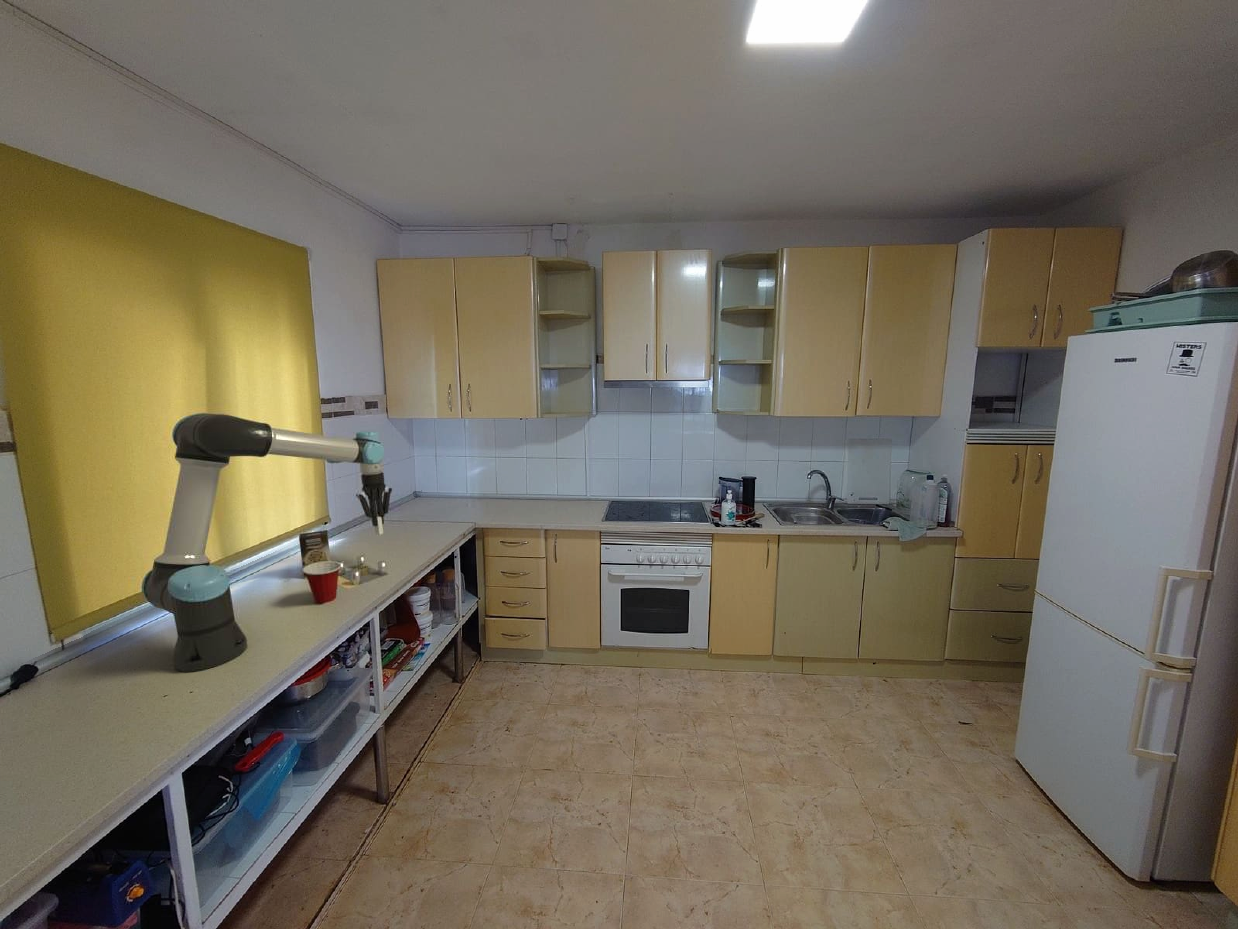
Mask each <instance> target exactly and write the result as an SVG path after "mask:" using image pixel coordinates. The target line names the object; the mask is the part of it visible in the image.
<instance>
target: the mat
mask: <svg viewBox="0 0 1238 929" xmlns="http://www.w3.org/2000/svg"><path fill="white" fill-rule="evenodd" d="M369 568H370V574H369V575H366V576H361V584H359V585H352V578H351V572H352V571H354V570H356V567H355V568H351V569H348V570H345V572H346V574H344V575H341V576H338V584H337V586H339V587H341V588H344V589H347V590H349V589H352V588H355V587H357V586H360V585H364V584H365V583H368V582H371V581H374V580H377V579H380V578H383V577H385V576H388V575H389V573H387V574H386V575H383V576H380V575H379V571H378V569H376V568H373V567H370V566H369Z"/></svg>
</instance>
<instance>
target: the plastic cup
mask: <svg viewBox="0 0 1238 929" xmlns="http://www.w3.org/2000/svg"><path fill="white" fill-rule="evenodd" d="M338 562H339V561H332V560H331V561H323V562H317V563H313V564H310V565H308V566H306V567H304V568H303V567H302V572H303V571H304V573H305V575H306V577H307V579H306V580H307V582H308V584H309V585H308V586H309V588H310V591H311V594H312V595H313V598H314V601H315V604H317V605H324V604H326V603H330V602H332V601H334V600H335V599H336V598H337V594H338V593H337V592H338V591H337V590H338V585H337V584H338V574H339V569H340V567H341V563H338Z"/></svg>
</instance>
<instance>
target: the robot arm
mask: <svg viewBox="0 0 1238 929" xmlns="http://www.w3.org/2000/svg"><path fill="white" fill-rule="evenodd" d="M380 439H381V438H380V433H379V432H378V431H376V430H363V431H358V432H356V434H355V438H345V437H344V438H343V437H338V436H337V437H336V436H330V435H323V434H316V433H309V432H303V431H295V430H289V429H281V428H275V427H272V426H271V424H269V423H266V422H259V421H256V420H255V421H254V420H249V419H245V418H242V417H239V416H235V415H230V414H225V413H220V414H219V413H208V412H207V413H206V412H197V413H193V414H190V415H187V416H185V417H183V418H180V420H179V421H177V423H176V424H175V425H174V427H173V429H172V440H173V443H174V444H175V446H176V450H175V454H174V459H175V461H177V463H178V464H179V466H180V468H179V473H178V477H177V478H178V479H177V483H176V488H175V492H174V497H173V502H172V507H171V508H172V509H171V511H170V512H171V513H170V518H169V523H168V527H167V528H168V529H167V532H166V537H165V543H164V548H163V552H162V553H161V554H160V555H158V556H157V557H155V558H154V560H153V565H152V569H151V570H150V571H148V572H147V573H146V574H145V576H144V578H143V579H142V582H141V593H142V596H143V597H144V599H145V600H146V601H147V602H148V603H149V604H151V605H153V607H155V608H158V609H161V610H163V611H166V612H168V613H171V614H172V615H173V618H174V623H175V624H174V625H175V628H176V629H175V630H176V633H177V639H176V642H175V646H174V647H175V648H174V651H173V656H172V664H173V668H174V670H176V671H178V672H183V673H184V672H185V673H186V672H187V673H188V672H189V673H190V672H198V671H203V670H207V669H210V668H214V667H217V666H221V665H223V664H225V663H227V662H229V661H231V660H233V659H235V658H237V657H239V656H240V655H242V654H243V653H244V652H245V651H246V650H247V648H248V647H249V646H248V644H249V643H248V640H247V636H246V634H245V633H244V632H243V630H242V629H241V627H240V625H239V624H238V623H237V622H236V619H235V611H234V606H233V599H232V594H231V593H232V592H231V588H230V579H229V577H228V573H227V571H226V569H224V568H223V567H222V566H218V565H214V564H213V565H211V564H210V563H211V559H210V558H209V557H208V556H207V555H206V547H207V542H208V538H209V532H210V528H211V522H212V518H213V517H212V516H213V511H214V507H215V501H216V497H217V496H216V495H217V492H218V491H217V490H218V487H219V482H220V481H219V480H220V476H221V470H223V469H224V468H225V467H227V466H228V465H230V464H229V463H230V458H231V457H232V458H233V457H234V458H235V457H254V458H255V457H256V458H265V457H266V456H268V455H274V456H283V457H284V456H285V457H294V458H306V459H314V460H321V461H322V460H323V461H326V463H329V464H339V463H352V464H359V468H360V469H359V470H360V473H361V475H360V477H361V484H362V487H361V491H360V492H359V493H356V494H355V495H356V498H357V499H358V500H359V503H360V504H361V507H362V509H363V512H364V515H365V517H367V518H370V519H371V522H372V526H373V527H374V531H375V534H376V535H379V536H380V535H382V534H384V529H383V528H384V527H383V525H384V524H385V519H384V518H385V515H386V514H388V513H389V510H390V509H389V507H390V499H391V493H392V492H393V488H392V487H388V486H387V485H386V482H385V473H384V472H383V471H384V467H383V466H384V465H383V460H384V458H385V454H386V453H385V448H384V447H383V446H382V444H381V440H380ZM366 496H367V498H366ZM367 500H368V501H367Z"/></svg>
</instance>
